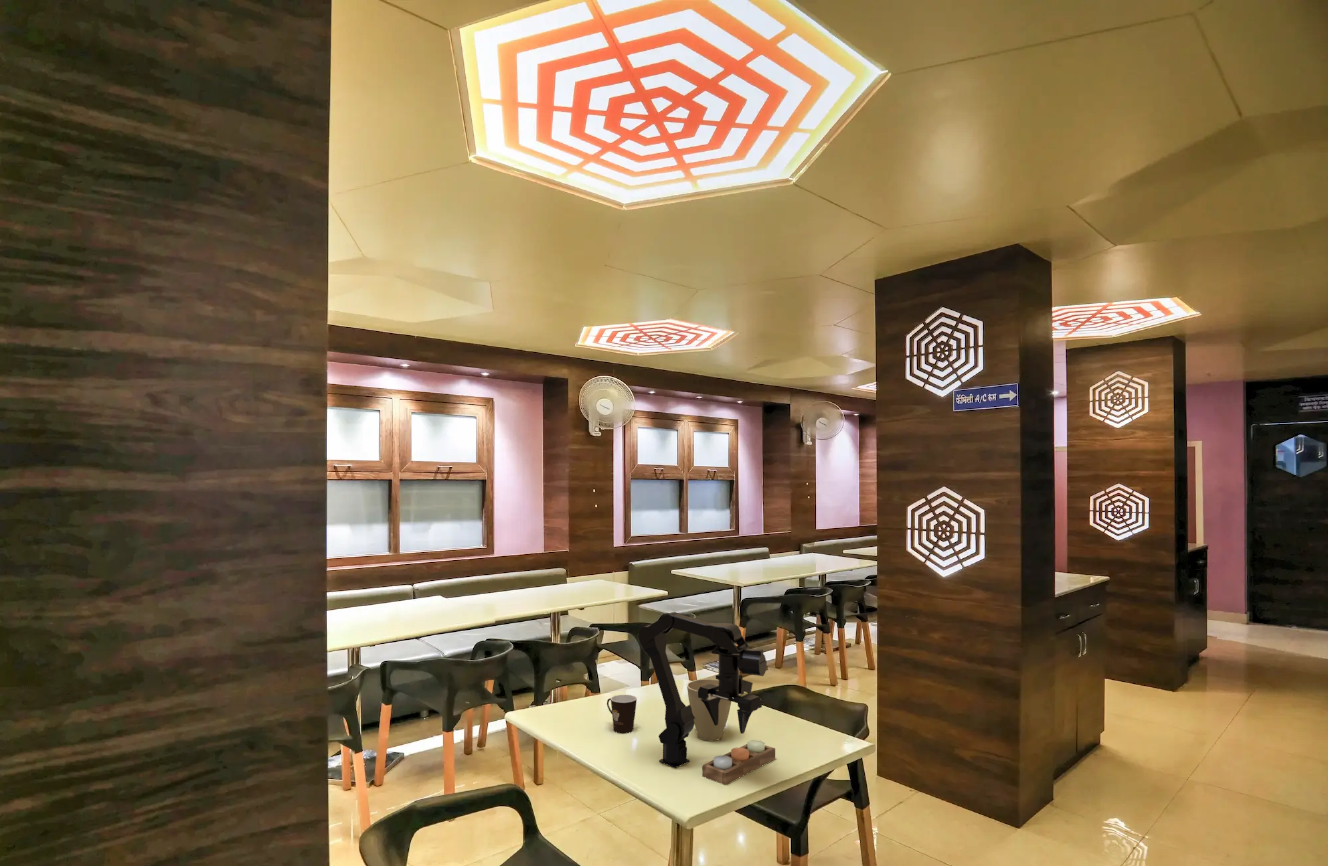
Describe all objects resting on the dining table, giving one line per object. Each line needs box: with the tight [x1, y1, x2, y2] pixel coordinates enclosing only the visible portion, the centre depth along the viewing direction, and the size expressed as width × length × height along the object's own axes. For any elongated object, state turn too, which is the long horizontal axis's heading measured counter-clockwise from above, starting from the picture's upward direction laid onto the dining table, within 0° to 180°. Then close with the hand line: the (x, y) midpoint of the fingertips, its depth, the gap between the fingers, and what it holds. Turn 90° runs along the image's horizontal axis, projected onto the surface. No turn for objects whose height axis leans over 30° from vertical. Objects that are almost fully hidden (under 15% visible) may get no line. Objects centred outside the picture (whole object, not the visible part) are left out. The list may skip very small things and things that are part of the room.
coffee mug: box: [606, 694, 638, 735], centre depth 216 cm, size 12×9×10 cm
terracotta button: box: [730, 747, 749, 762], centre depth 185 cm, size 5×5×3 cm
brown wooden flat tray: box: [701, 743, 776, 786], centre depth 185 cm, size 8×24×3 cm, turn 138°
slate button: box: [713, 754, 732, 771], centre depth 179 cm, size 5×5×3 cm
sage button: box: [746, 739, 765, 754], centre depth 191 cm, size 5×5×3 cm
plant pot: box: [686, 678, 732, 741], centre depth 209 cm, size 15×15×16 cm
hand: (729, 729), depth 181 cm, fingers open, 9 cm apart
